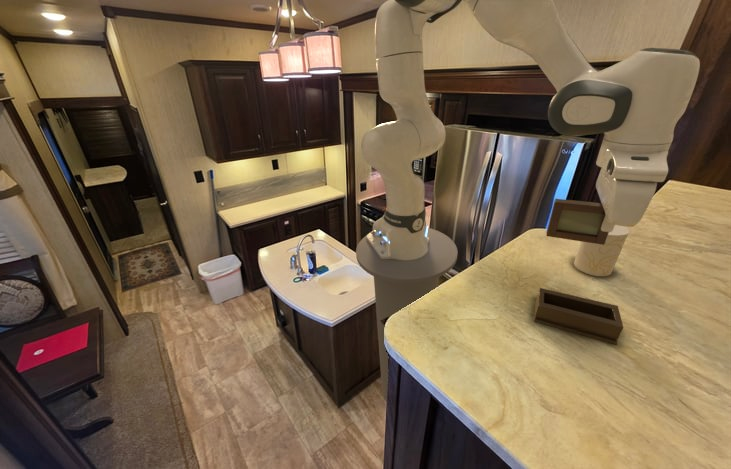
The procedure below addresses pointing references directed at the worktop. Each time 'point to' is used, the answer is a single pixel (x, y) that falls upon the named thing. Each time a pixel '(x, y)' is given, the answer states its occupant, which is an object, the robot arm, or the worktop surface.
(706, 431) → the worktop surface
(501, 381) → the worktop surface
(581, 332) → the holder
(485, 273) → the worktop surface
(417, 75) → the robot arm
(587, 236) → the frame
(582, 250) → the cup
